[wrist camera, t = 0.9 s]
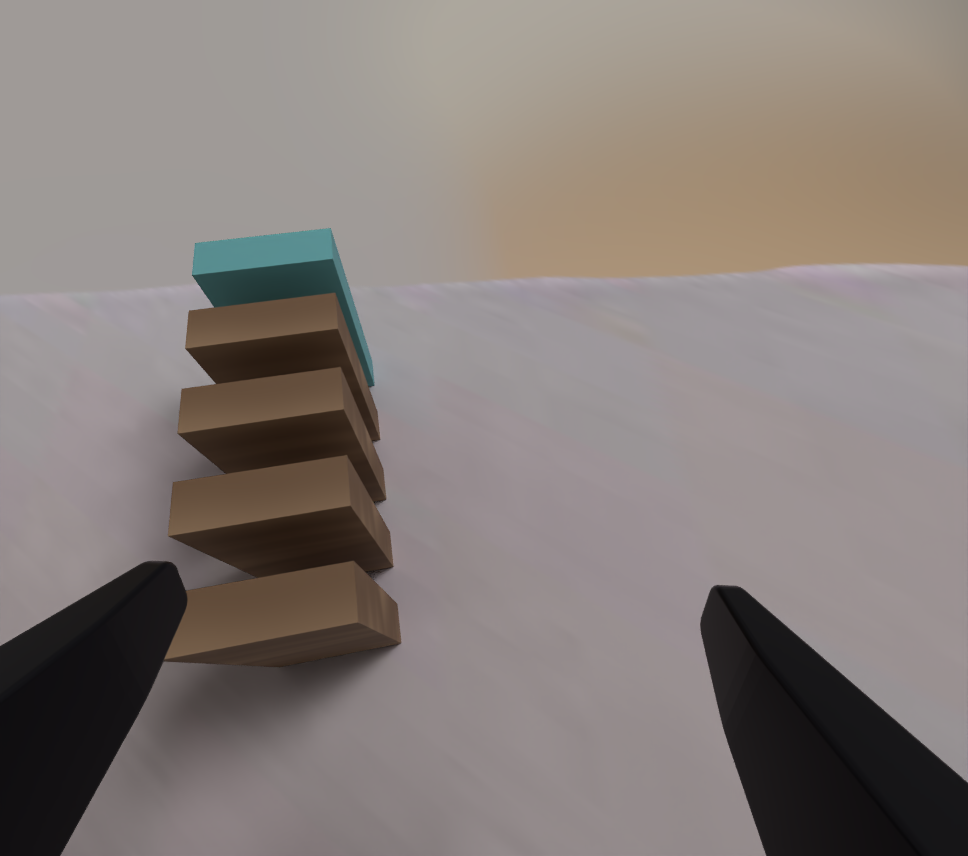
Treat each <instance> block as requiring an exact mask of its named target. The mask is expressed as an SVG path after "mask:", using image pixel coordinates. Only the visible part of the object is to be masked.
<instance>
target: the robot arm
mask: <svg viewBox="0 0 968 856" xmlns="http://www.w3.org/2000/svg"><path fill="white" fill-rule="evenodd" d="M187 601H188V599H187V593H186V590H185V588H184V585H183V583H182V580H181V578H180V575H179V573H178V570H177V568H176V566H175V565H174V564H173V563H172V562H167V561H146V562H144V563H142V564H140V565H138V566H136V567H135V568H133V569H131V570H130V571H128V572H126V573H124V574H123V575H121V576H119V577H118V578H116V579H114V580H112V581H111V582H109V583H107V584H106V585H104V586H102V587H100V588H99V589H97V590H95V591H94V592H92V593H90V594H89V595H87V596H85V597H83V598H82V599H80V600H78V601H77V602H75V603H73V604H71V605H70V606H68V607H66V608H65V609H63V610H61V611H59V612H58V613H56V614H54V615H53V616H51V617H49V618H47V619H46V620H44V621H42V622H41V623H39V624H37V625H36V626H34V627H32V628H30V629H29V630H27V631H25V632H24V633H22V634H20V635H18V636H17V637H15V638H13V639H12V640H10V641H8V642H6V643H5V644H3V645H1V646H0V856H60V855H61V854H62V852H63V850H64V848H65V846H66V844H67V843H68V841H69V839H70V837H71V835H72V834H73V832H74V830H75V828H76V826H77V825H78V823H79V821H80V819H81V817H82V815H83V814H84V812H85V810H86V808H87V806H88V805H89V803H90V801H91V799H92V797H93V796H94V794H95V792H96V790H97V788H98V786H99V785H100V783H101V781H102V779H103V777H104V776H105V774H106V772H107V770H108V768H109V767H110V765H111V763H112V761H113V759H114V757H115V756H116V754H117V752H118V750H119V748H120V747H121V745H122V743H123V741H124V739H125V738H126V736H127V734H128V732H129V730H130V728H131V727H132V725H133V723H134V721H135V719H136V718H137V716H138V714H139V712H140V710H141V708H142V706H143V704H144V702H145V701H146V699H147V697H148V694H149V692H150V690H151V688H152V686H153V684H154V682H155V679H156V677H157V675H158V672H159V670H160V668H161V666H162V663H163V661H164V659H165V656H166V654H167V652H168V649H169V647H170V645H171V643H172V640H173V638H174V636H175V633H176V631H177V629H178V627H179V624H180V622H181V620H182V617H183V615H184V613H185V610H186V607H187ZM700 628H701V635H702V639H703V644H704V648H705V652H706V657H707V661H708V666H709V670H710V674H711V679H712V683H713V687H714V692H715V696H716V700H717V705H718V709H719V713H720V717H721V721H722V725H723V729H724V732H725V735H726V738H727V742H728V745H729V748H730V751H731V754H732V757H733V759H734V762H735V765H736V768H737V771H738V774H739V777H740V780H741V783H742V786H743V789H744V792H745V795H746V798H747V801H748V804H749V806H750V809H751V812H752V815H753V818H754V821H755V824H756V827H757V830H758V833H759V836H760V839H761V842H762V845H763V848H764V850H765V853H766V856H968V783H967V782H966V781H965V780H964V779H963V778H962V777H961V776H959V775H958V774H957V773H956V772H955V771H954V770H952V769H951V768H950V767H949V766H948V765H947V764H945V763H944V762H943V761H942V760H941V759H940V758H939V757H937V756H936V755H935V754H934V753H933V752H932V751H930V750H929V749H928V748H927V747H926V746H925V745H924V744H922V743H921V742H920V741H919V740H918V739H917V738H915V737H914V736H913V735H912V734H911V733H910V732H908V731H907V730H906V729H905V728H904V727H903V726H902V725H900V724H899V723H898V722H897V721H896V720H895V719H893V718H892V717H891V716H890V715H889V714H888V713H886V712H885V711H884V710H883V709H882V708H881V707H880V706H878V705H877V704H876V703H875V702H874V701H873V700H871V699H870V698H869V697H868V696H867V695H866V694H864V693H863V692H862V691H861V690H860V689H859V688H858V687H856V686H855V685H854V684H853V683H852V682H851V681H849V680H848V679H847V678H846V677H845V676H844V675H842V674H841V673H840V672H839V671H838V670H837V669H836V668H834V667H833V666H832V665H831V664H830V663H829V662H827V661H826V660H825V659H824V658H823V657H822V656H820V655H819V654H818V653H817V652H816V651H815V650H814V649H812V648H811V647H810V646H809V645H808V644H807V643H805V642H804V641H803V640H802V639H801V638H800V637H798V636H797V635H796V634H795V633H794V632H793V631H792V630H790V629H789V628H788V627H787V626H786V625H785V624H783V623H782V622H781V621H780V620H779V619H778V618H776V617H775V616H774V615H773V614H772V613H771V612H770V611H768V610H767V609H766V608H765V607H764V606H763V605H761V604H760V603H759V602H758V601H757V600H756V599H754V598H753V597H752V596H751V595H750V594H749V593H748V592H746V591H745V590H744V589H742V588H741V587H738V586H728V585H715V586H713V587H712V588H711V590H710V593H709V596H708V599H707V602H706V605H705V608H704V611H703V614H702V617H701V622H700Z"/></svg>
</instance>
